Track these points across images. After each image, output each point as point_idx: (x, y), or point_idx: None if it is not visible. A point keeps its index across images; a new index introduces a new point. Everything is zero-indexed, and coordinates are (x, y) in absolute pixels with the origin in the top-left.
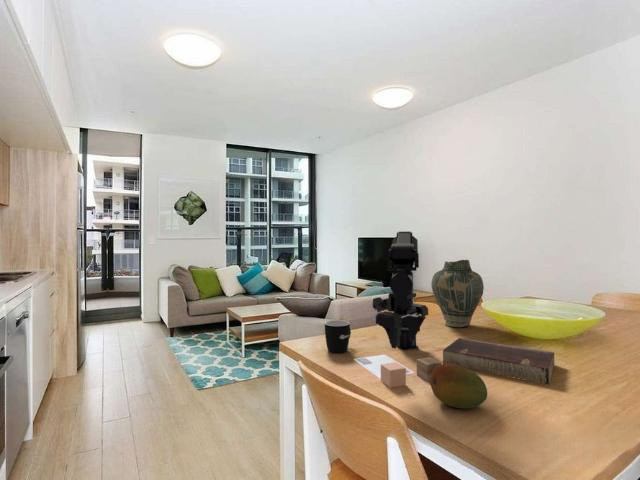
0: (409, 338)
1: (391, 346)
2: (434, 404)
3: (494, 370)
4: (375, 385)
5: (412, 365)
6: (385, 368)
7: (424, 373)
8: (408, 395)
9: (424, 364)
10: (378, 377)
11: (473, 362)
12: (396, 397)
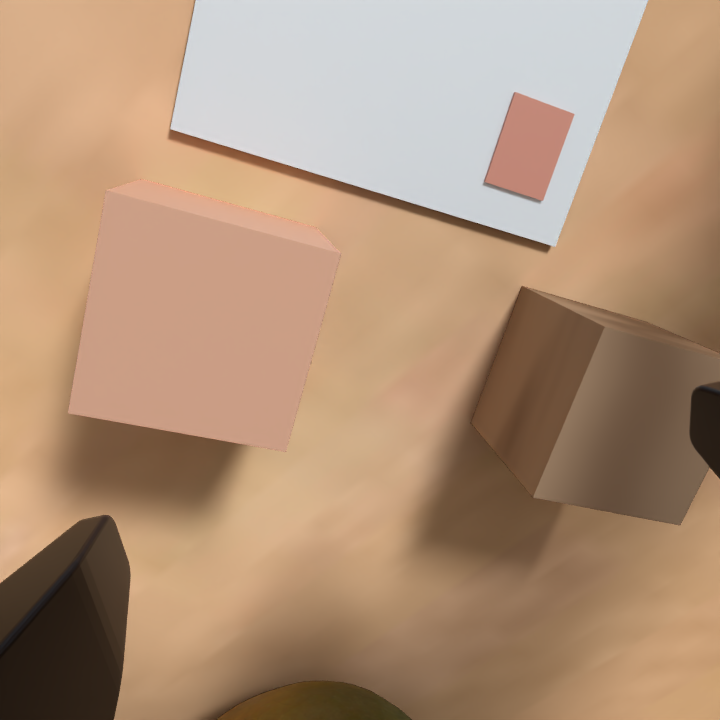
0: (718, 393)
1: (68, 530)
2: (202, 680)
3: None
4: (28, 215)
5: (714, 78)
6: (88, 311)
7: (506, 414)
8: (151, 515)
9: (544, 454)
10: (180, 95)
11: None
12: (37, 496)
